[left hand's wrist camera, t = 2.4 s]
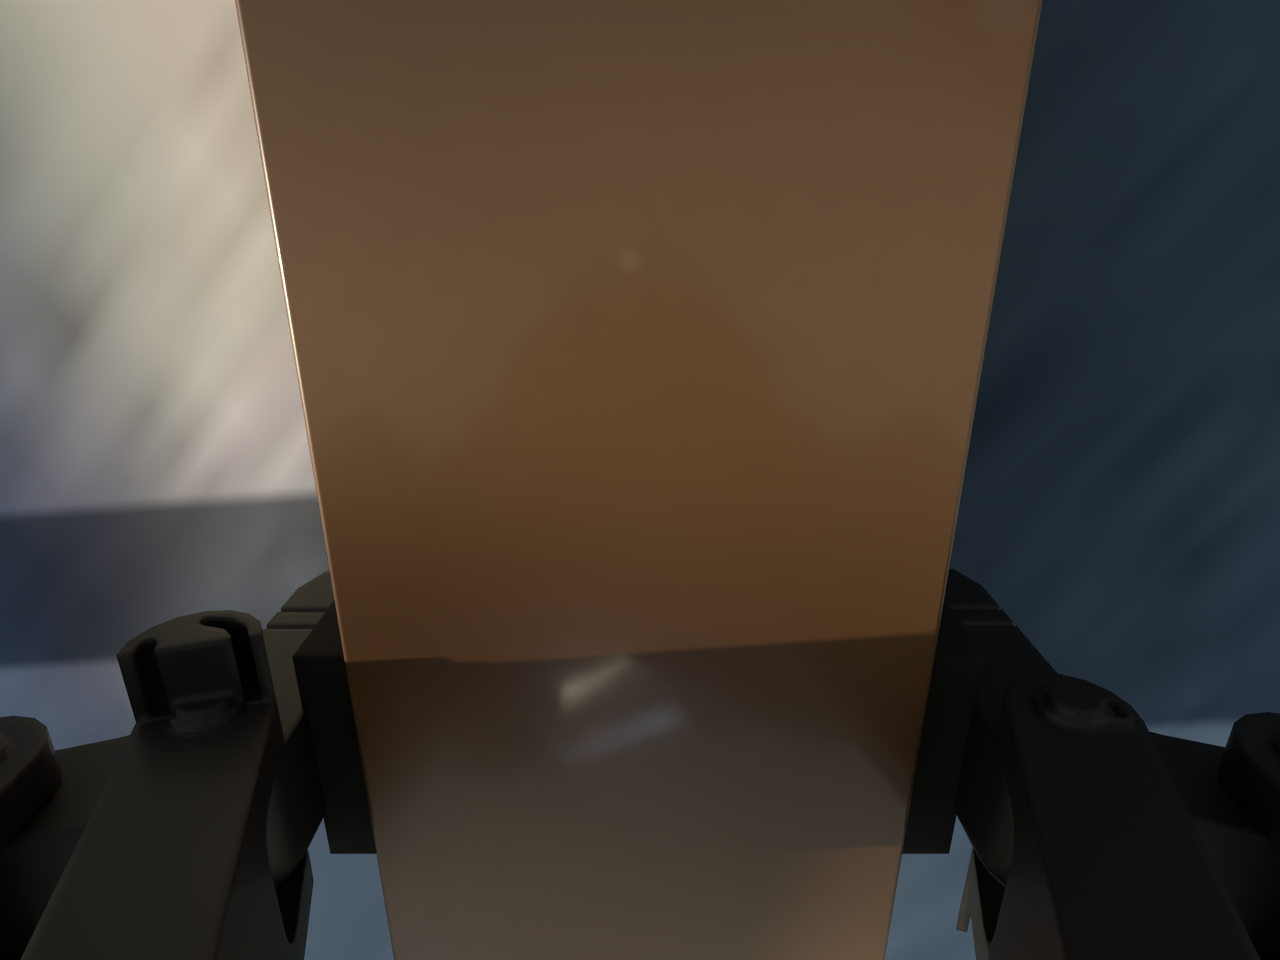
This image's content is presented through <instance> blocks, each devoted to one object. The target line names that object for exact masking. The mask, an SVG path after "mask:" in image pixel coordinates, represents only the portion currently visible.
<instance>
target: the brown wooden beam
mask: <svg viewBox="0 0 1280 960" xmlns="http://www.w3.org/2000/svg"><path fill="white" fill-rule="evenodd" d="M235 2H236V8H237V14H238V20H239V26H240V32H241V38H242V44H243V50H244V56H245V62H246V68H247V75H248V81H249V87H250V93H251V99H252V105H253V111H254V117H255V123H256V129H257V135H258V141H259V147H260V153H261V159H262V165H263V171H264V177H265V183H266V189H267V195H268V201H269V207H270V213H271V219H272V225H273V231H274V237H275V243H276V249H277V255H278V262H279V268H280V274H281V280H282V286H283V292H284V298H285V304H286V310H287V316H288V322H289V328H290V334H291V340H292V346H293V352H294V358H295V364H296V370H297V376H298V382H299V388H300V394H301V400H302V406H303V412H304V418H305V424H306V430H307V436H308V442H309V449H310V455H311V461H312V467H313V473H314V479H315V485H316V491H317V497H318V503H319V509H320V515H321V521H322V527H323V533H324V539H325V545H326V551H327V557H328V563H329V569H330V575H331V581H332V587H333V593H334V599H335V605H336V611H337V617H338V623H339V629H340V636H341V642H342V648H343V654H344V660H345V666H346V672H347V678H348V684H349V690H350V696H351V702H352V708H353V714H354V720H355V726H356V732H357V738H358V744H359V750H360V756H361V762H362V768H363V774H364V780H365V786H366V792H367V798H368V804H369V810H370V816H371V823H372V829H373V835H374V841H375V847H376V853H377V859H378V865H379V871H380V877H381V883H382V889H383V895H384V901H385V907H386V913H387V919H388V925H389V931H390V937H391V943H392V949H393V955H394V960H885V953H886V947H887V941H888V935H889V929H890V923H891V917H892V911H893V905H894V899H895V893H896V887H897V881H898V875H899V869H900V863H901V857H902V851H903V844H904V838H905V832H906V826H907V820H908V814H909V808H910V802H911V796H912V790H913V784H914V778H915V772H916V766H917V760H918V754H919V748H920V742H921V735H922V729H923V723H924V717H925V711H926V705H927V699H928V693H929V687H930V681H931V675H932V669H933V663H934V657H935V651H936V645H937V639H938V632H939V626H940V620H941V614H942V608H943V602H944V596H945V590H946V584H947V578H948V572H949V566H950V560H951V554H952V548H953V542H954V536H955V530H956V523H957V517H958V511H959V505H960V499H961V493H962V487H963V481H964V475H965V469H966V463H967V457H968V451H969V445H970V439H971V433H972V427H973V421H974V414H975V408H976V402H977V396H978V390H979V384H980V378H981V372H982V366H983V360H984V354H985V348H986V342H987V336H988V330H989V324H990V318H991V311H992V305H993V299H994V293H995V287H996V281H997V275H998V269H999V263H1000V257H1001V251H1002V245H1003V239H1004V233H1005V227H1006V221H1007V215H1008V209H1009V202H1010V196H1011V190H1012V184H1013V178H1014V172H1015V166H1016V160H1017V154H1018V148H1019V142H1020V136H1021V130H1022V124H1023V118H1024V112H1025V106H1026V100H1027V93H1028V87H1029V81H1030V75H1031V69H1032V63H1033V57H1034V51H1035V45H1036V39H1037V33H1038V27H1039V21H1040V15H1041V9H1042V3H1043V0H235Z"/></svg>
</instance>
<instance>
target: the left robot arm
mask: <svg viewBox="0 0 1280 960" xmlns="http://www.w3.org/2000/svg"><path fill="white" fill-rule="evenodd" d="M117 659H118V662H119V666H120V669H121V673H122V676H123V679H124V683H125V686H126V690H127V693H128V696H129V700H130V703H131V707H132V710H133V713H134V717H135V720H136V724H135V726H134V728H133V730H132V732H131V734H130V735H129V736H125V737H121V738H117V739H112V740H107V741H102V742H97V743H92V744H87V745H82V746H77V747H72V748H67V749H62V750H57V751H55V750H54V747H53V744H52V741H51V738H50V735H49V733H48V730H47V727H46V726H45V725H44V724H42V723H41V722H39V721H38V720H36V719H35V718H29V717H19V716H8V717H1V718H0V960H304V955H305V947H306V939H307V930H308V922H309V914H310V905H311V897H312V889H313V875H312V868H311V863H310V858H309V853H308V847H309V845H310V843H311V841H312V839H313V837H314V835H315V833H316V831H317V829H318V827H319V825H320V823H321V821H322V819H323V817H324V822H325V828H326V833H327V838H328V843H329V848H330V853H331V854H377V853H376V847H375V841H374V835H373V829H372V823H371V816H370V810H369V804H368V798H367V792H366V786H365V780H364V774H363V768H362V762H361V756H360V750H359V744H358V738H357V732H356V726H355V720H354V714H353V708H352V702H351V696H350V690H349V684H348V678H347V672H346V666H345V660H344V654H343V648H342V642H341V636H340V629H339V623H338V617H337V611H336V605H335V599H334V593H333V587H332V581H331V575H330V572H325V573H323V574H321V575H320V576H318V577H316V578H315V579H313V580H311V581H310V582H308V583H306V584H305V585H303V586H301V587H300V588H298V589H297V590H296V591H295V593H294V594H293V595H292V596H291V597H290V599H289V600H288V601H287V602H286V603H285V604H284V606H283V607H282V608H281V612H278V613H277V614H276V615H275V616H274V617H273V618H272V620H271V621H270V622H269V623H268V624H267V629H263V630H262V628H261V623H260V621H258V620H257V619H255V618H254V617H253V616H251V615H250V614H247V613H241V612H236V611H231V610H226V611H205V612H201V613H196V614H191V615H187V616H182V617H178V618H175V619H173V620H170V621H167V622H165V623H162V624H159V625H157V626H154V627H152V628H150V629H148V630H147V631H145V632H143V633H142V634H140V635H138V636H137V637H135V638H133V639H131V640H130V641H129V642H128V643H127V644H126V645H125V646H124V647H123V648H122V649H121V650H120V651H119V652H118V653H117ZM956 815H957V816H958V818H959V820H960V822H961V824H962V826H963V828H964V830H965V832H966V834H967V836H968V838H969V840H970V842H971V844H972V846H973V848H972V853H971V858H970V863H969V867H968V872H967V877H966V882H965V887H964V891H963V896H962V901H961V906H960V911H959V916H958V923H957V929H956V930H959V931H963V932H967V929H968V925H969V920H970V916H971V920H972V928H973V937H974V945H975V953H976V960H1280V714H1277V713H1270V712H1265V713H1256V714H1246V715H1245V716H1243V717H1242V718H1240V719H1239V720H1238V721H1236V722H1235V723H1234V725H1233V728H1232V730H1231V733H1230V736H1229V739H1228V742H1227V745H1226V748H1225V747H1220V746H1215V745H1210V744H1205V743H1200V742H1195V741H1190V740H1185V739H1180V738H1175V737H1170V736H1165V735H1161V734H1157V733H1153V732H1149V731H1148V729H1147V727H1146V725H1145V723H1144V721H1143V720H1142V719H1141V717H1140V716H1139V715H1138V714H1137V712H1136V711H1135V710H1134V709H1133V707H1132V706H1131V705H1129V704H1128V703H1126V702H1125V701H1123V700H1122V699H1121V698H1119V697H1118V696H1116V695H1115V694H1113V693H1112V692H1111V691H1108V690H1106V689H1104V688H1101V687H1099V686H1097V685H1095V684H1092V683H1090V682H1088V681H1086V680H1082V679H1078V678H1074V677H1070V676H1065V675H1061V674H1057V672H1056V671H1055V670H1054V669H1053V668H1052V667H1051V666H1050V664H1049V663H1048V662H1047V661H1046V660H1045V659H1044V657H1043V656H1042V655H1041V654H1040V653H1039V652H1038V650H1037V649H1036V648H1035V647H1034V646H1033V645H1032V643H1031V642H1030V641H1029V640H1028V639H1027V638H1026V637H1025V635H1024V634H1023V633H1022V632H1021V631H1020V630H1019V628H1018V627H1017V626H1013V621H1012V620H1011V619H1010V618H1009V617H1008V616H1007V614H1006V613H1005V612H1004V611H1003V610H999V605H998V604H997V603H996V602H995V601H994V599H993V598H992V597H991V596H990V595H989V594H988V592H987V591H986V590H985V589H984V588H983V587H982V586H981V585H979V584H978V583H976V582H974V581H973V580H971V579H969V578H968V577H966V576H964V575H963V574H961V573H959V572H958V571H956V570H954V569H949V572H948V578H947V584H946V590H945V596H944V602H943V608H942V614H941V620H940V626H939V632H938V639H937V645H936V651H935V657H934V663H933V669H932V675H931V681H930V687H929V693H928V699H927V705H926V711H925V717H924V723H923V729H922V735H921V742H920V748H919V754H918V760H917V766H916V772H915V778H914V784H913V790H912V796H911V802H910V808H909V814H908V820H907V826H906V832H905V838H904V844H903V851H902V854H949V850H950V845H951V840H952V835H953V830H954V825H955V820H956Z"/></svg>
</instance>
